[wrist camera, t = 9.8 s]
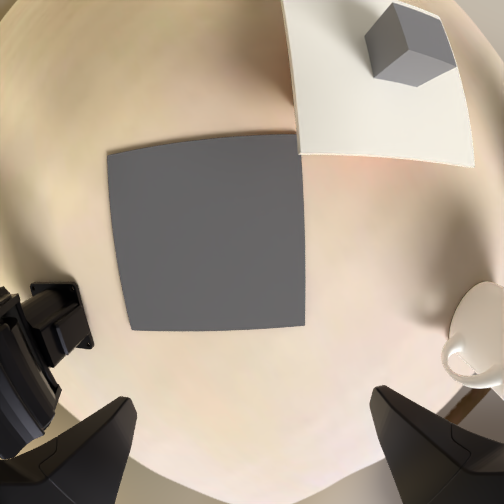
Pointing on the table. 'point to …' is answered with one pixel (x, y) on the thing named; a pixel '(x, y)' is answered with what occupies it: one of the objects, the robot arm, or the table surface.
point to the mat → (210, 233)
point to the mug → (479, 337)
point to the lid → (375, 82)
